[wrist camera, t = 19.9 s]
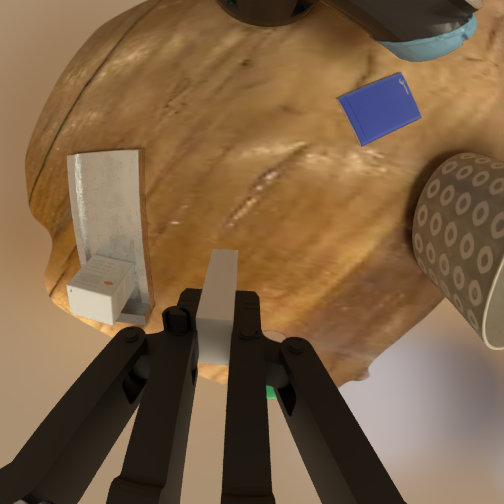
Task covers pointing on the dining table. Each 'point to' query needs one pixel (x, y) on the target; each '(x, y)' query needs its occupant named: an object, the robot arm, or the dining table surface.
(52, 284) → the dining table surface
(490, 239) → the planter
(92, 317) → the small box
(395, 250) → the dining table surface
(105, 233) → the tray
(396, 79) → the hard drive
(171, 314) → the robot arm
